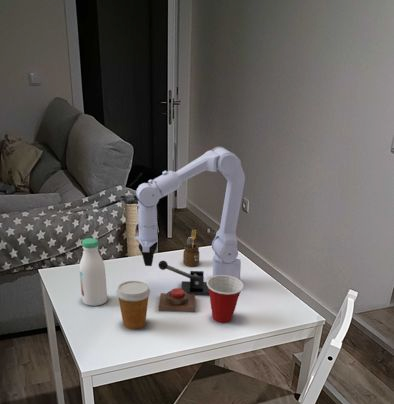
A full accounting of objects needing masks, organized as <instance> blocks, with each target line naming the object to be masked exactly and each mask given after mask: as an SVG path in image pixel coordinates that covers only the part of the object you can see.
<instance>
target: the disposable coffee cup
mask: <svg viewBox="0 0 394 404" xmlns="http://www.w3.org/2000/svg"><path fill="white" fill-rule="evenodd" d="M115 294H116V296H117V298H118V303H119V308H120V313H121V319H122V324H123V327H124V328H125V329H127V330H131V331H132V330H133V331H135V330H141V329H143V328H144V327H145V326H146V320H147V311H148V304H149V296H150V295H151V290H150V287H149V285H148V284H147V283H145V282H144V281H140V280H126V281H123V282H121V283H119V284H118V285H117V289H116V290H115Z"/></svg>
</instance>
